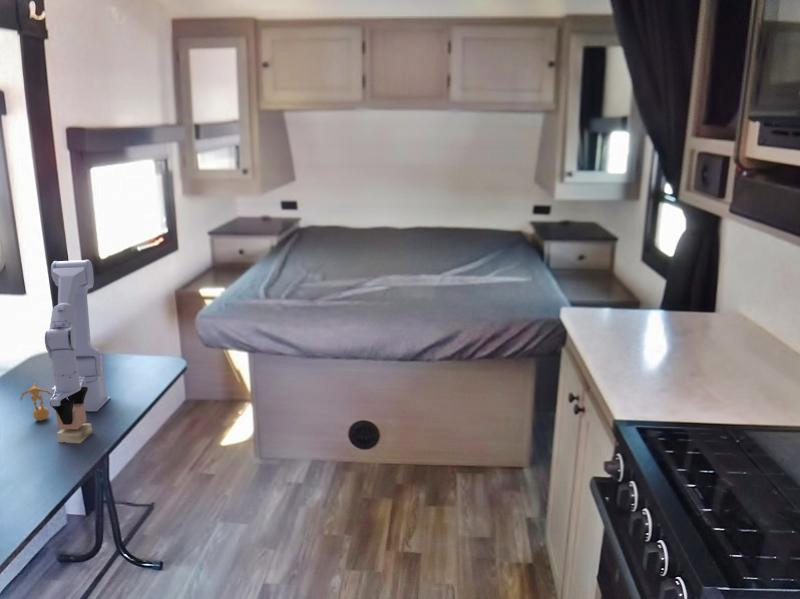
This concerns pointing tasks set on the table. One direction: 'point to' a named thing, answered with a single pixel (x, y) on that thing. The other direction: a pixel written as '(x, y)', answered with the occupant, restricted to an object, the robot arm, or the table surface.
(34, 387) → the figurine
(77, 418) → the terracotta cube
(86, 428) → the birch base block
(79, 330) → the robot arm
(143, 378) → the table surface
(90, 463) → the table surface
